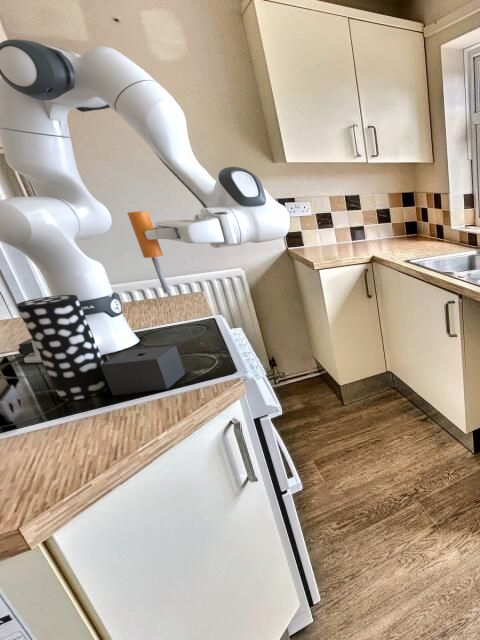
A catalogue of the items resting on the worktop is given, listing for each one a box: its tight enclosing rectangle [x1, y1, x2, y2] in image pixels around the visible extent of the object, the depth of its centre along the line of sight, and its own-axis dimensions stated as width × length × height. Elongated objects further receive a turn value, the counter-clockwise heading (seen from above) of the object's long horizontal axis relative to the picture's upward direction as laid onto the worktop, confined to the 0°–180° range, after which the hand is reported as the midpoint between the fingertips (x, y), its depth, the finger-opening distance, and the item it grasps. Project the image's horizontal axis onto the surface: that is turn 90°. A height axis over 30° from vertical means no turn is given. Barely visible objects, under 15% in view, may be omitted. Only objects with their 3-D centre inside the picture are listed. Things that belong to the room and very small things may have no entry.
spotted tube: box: [15, 295, 110, 401], centre depth 86 cm, size 8×8×20 cm
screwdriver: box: [127, 210, 170, 295], centre depth 88 cm, size 3×3×17 cm
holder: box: [100, 345, 186, 396], centre depth 91 cm, size 10×8×7 cm
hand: (141, 234), depth 86 cm, fingers closed on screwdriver, 3 cm apart
